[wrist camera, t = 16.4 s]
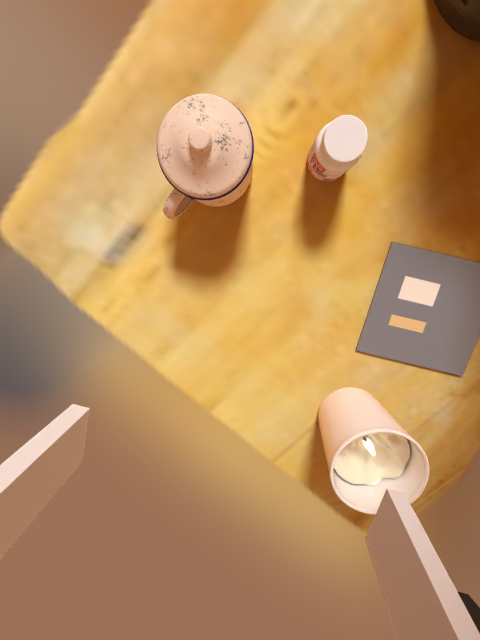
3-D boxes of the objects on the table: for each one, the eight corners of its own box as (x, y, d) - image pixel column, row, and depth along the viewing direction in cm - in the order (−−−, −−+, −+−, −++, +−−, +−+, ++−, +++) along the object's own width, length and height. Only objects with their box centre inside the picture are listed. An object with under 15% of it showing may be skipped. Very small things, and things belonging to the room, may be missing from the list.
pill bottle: (299, 171, 39) (309, 152, 31) (318, 130, 38) (334, 99, 30) (335, 189, 39) (356, 175, 31) (355, 149, 38) (382, 123, 30)
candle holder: (397, 428, 45) (445, 492, 34) (332, 458, 47) (356, 529, 35) (366, 368, 44) (405, 413, 32) (299, 401, 45) (313, 456, 34)
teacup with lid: (209, 108, 38) (188, 50, 27) (270, 161, 39) (275, 127, 28) (149, 195, 41) (106, 176, 29) (208, 244, 41) (188, 243, 30)
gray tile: (391, 241, 40) (392, 241, 40) (505, 269, 40) (507, 269, 40) (355, 349, 43) (356, 350, 43) (461, 375, 43) (462, 376, 43)
